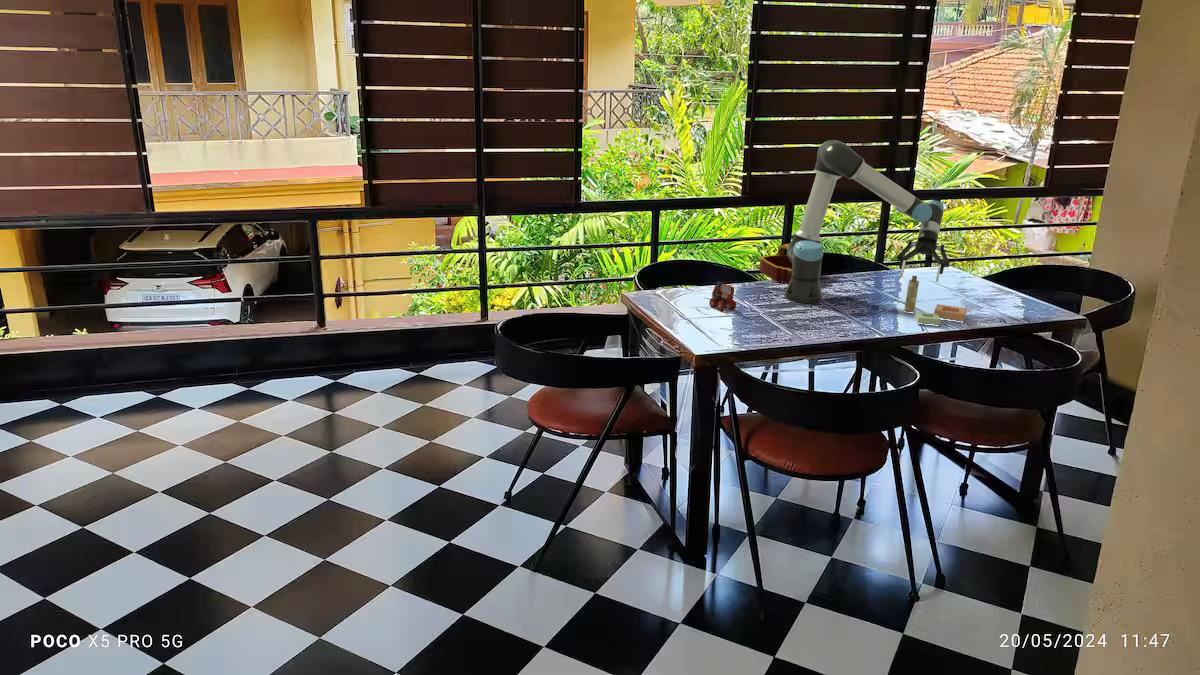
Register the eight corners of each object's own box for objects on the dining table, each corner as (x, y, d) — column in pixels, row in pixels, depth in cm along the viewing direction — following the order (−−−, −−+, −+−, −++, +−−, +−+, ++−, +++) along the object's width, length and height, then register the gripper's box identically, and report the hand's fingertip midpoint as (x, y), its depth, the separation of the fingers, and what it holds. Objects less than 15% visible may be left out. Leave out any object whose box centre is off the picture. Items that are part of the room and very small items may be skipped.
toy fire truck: (720, 303, 339) (722, 278, 336) (738, 311, 329) (740, 286, 326) (705, 305, 336) (707, 280, 333) (723, 313, 326) (726, 287, 323)
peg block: (903, 313, 336) (909, 276, 331) (905, 311, 339) (910, 274, 334) (913, 314, 335) (918, 277, 330) (914, 312, 338) (919, 275, 333)
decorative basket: (752, 271, 408) (750, 241, 403) (810, 263, 409) (809, 233, 404) (771, 290, 376) (770, 257, 371) (835, 281, 377) (834, 249, 372)
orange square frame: (933, 319, 329) (934, 310, 328) (935, 312, 338) (937, 304, 337) (963, 323, 324) (964, 314, 323) (965, 316, 334) (966, 308, 333)
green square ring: (917, 325, 320) (918, 317, 319) (914, 319, 328) (915, 311, 327) (939, 327, 319) (940, 319, 318) (935, 321, 326) (937, 313, 325)
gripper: (960, 243, 345) (951, 286, 336) (896, 236, 355) (887, 278, 347) (961, 232, 338) (952, 276, 330) (897, 226, 349) (886, 268, 340)
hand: (919, 277), depth 338 cm, fingers open, 13 cm apart
